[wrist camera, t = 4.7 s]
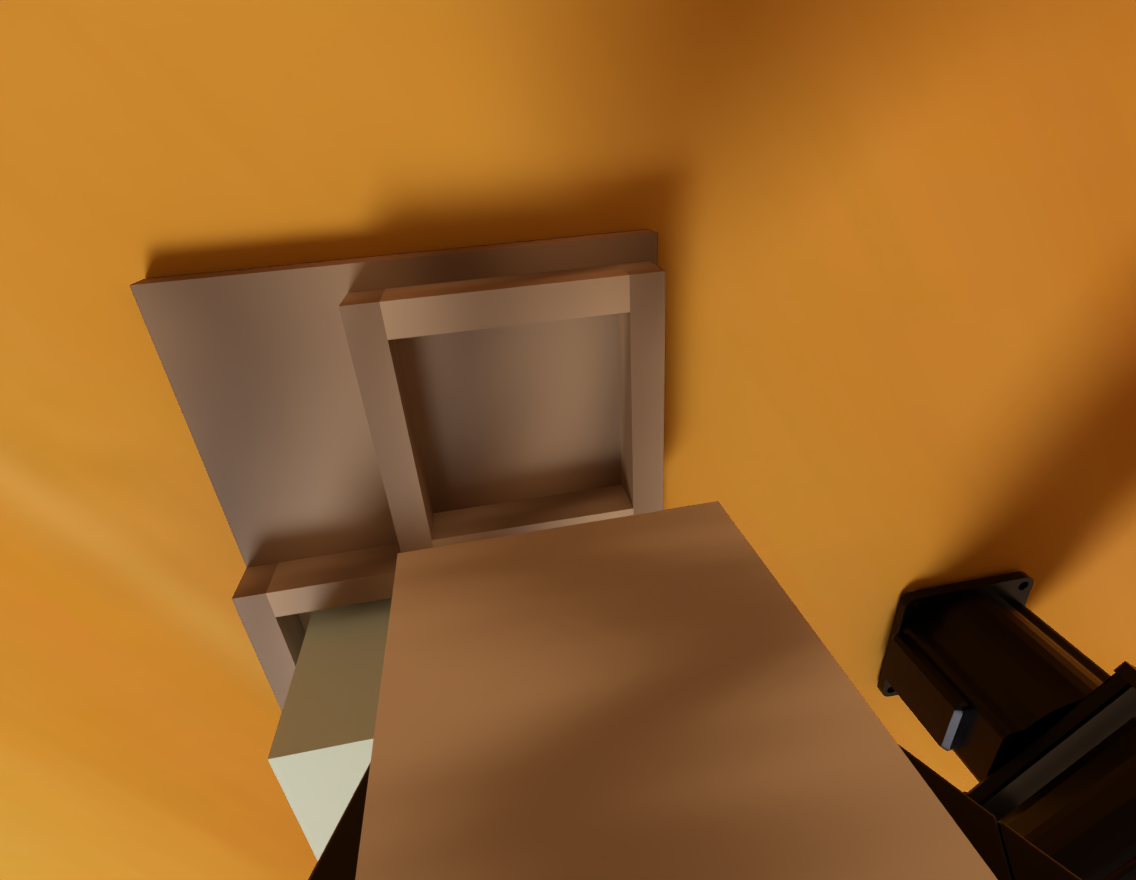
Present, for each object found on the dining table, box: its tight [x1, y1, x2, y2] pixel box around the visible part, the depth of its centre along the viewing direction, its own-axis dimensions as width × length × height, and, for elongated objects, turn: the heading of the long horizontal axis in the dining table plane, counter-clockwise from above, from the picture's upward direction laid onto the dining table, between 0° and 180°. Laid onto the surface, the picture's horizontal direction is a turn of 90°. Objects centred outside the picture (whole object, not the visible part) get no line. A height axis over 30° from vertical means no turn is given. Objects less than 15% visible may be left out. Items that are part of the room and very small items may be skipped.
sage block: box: [268, 598, 392, 860], centre depth 19 cm, size 5×5×6 cm
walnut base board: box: [130, 229, 666, 710], centre depth 20 cm, size 14×18×2 cm
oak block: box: [355, 501, 998, 880], centre depth 7 cm, size 5×5×6 cm
